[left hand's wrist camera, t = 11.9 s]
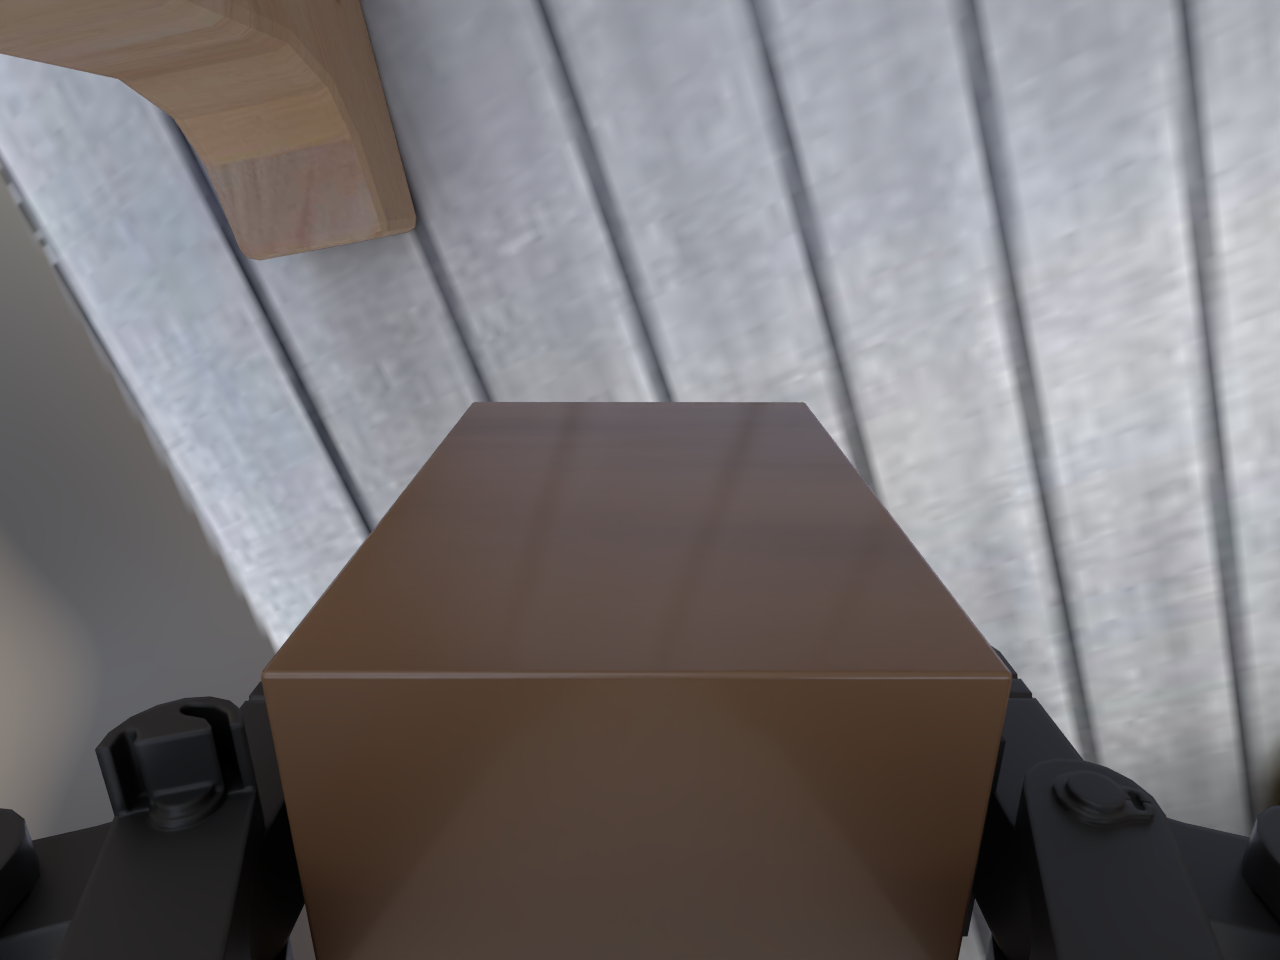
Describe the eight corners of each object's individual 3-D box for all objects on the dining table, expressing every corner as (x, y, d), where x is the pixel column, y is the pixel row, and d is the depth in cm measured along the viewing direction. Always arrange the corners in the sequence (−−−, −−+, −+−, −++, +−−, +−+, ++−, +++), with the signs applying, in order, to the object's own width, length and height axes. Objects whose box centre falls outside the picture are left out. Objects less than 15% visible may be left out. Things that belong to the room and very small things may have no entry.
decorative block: (296, 253, 45) (-262, 356, 17) (201, -47, 40) (-811, -596, 12) (422, 229, 45) (62, 294, 17) (342, -77, 40) (-367, -720, 12)
